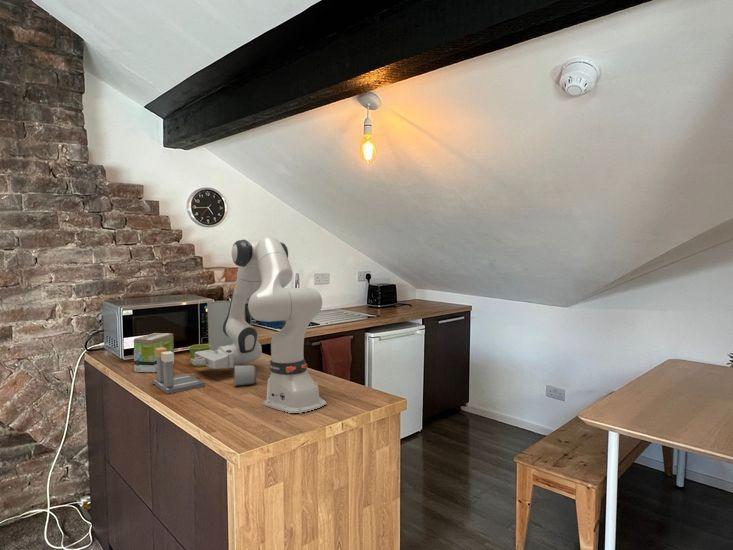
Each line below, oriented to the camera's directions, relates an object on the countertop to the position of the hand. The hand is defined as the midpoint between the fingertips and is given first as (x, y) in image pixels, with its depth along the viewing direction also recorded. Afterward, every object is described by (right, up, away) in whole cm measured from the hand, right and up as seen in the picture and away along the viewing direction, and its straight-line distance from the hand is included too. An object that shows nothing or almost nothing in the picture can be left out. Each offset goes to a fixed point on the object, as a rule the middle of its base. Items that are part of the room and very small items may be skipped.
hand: (191, 362), depth 193 cm
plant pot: (-5, -6, +23) cm, 24 cm away
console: (-3, -8, -7) cm, 11 cm away
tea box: (-23, -6, +18) cm, 30 cm away
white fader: (-3, -6, -14) cm, 16 cm away
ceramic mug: (+23, -8, -6) cm, 25 cm away
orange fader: (-9, -6, -7) cm, 13 cm away
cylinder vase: (-3, -4, +50) cm, 51 cm away
